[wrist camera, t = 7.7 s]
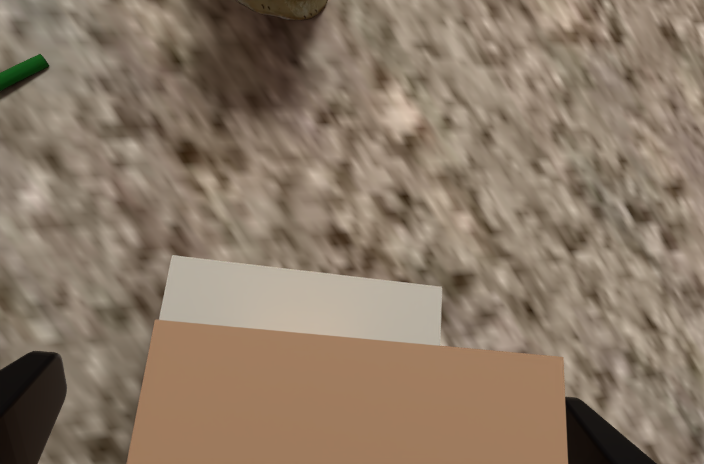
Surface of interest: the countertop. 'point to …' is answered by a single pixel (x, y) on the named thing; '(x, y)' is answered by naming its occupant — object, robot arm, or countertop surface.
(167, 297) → the plinth
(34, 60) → the flower
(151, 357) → the block
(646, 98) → the countertop surface
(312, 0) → the chocolate bunny
